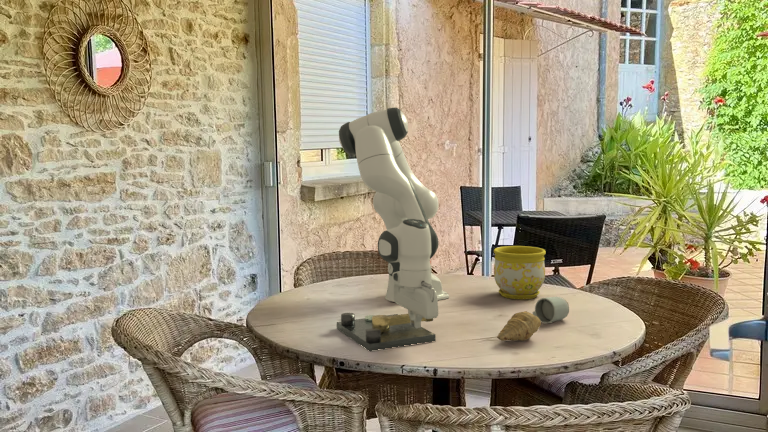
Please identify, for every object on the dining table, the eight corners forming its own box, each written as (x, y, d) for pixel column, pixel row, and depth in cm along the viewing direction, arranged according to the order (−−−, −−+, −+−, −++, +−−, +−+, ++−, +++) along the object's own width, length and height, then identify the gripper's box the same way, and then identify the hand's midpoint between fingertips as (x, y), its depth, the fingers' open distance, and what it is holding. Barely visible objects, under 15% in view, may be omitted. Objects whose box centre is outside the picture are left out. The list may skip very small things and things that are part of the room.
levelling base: (397, 320, 210) (397, 304, 209) (435, 341, 188) (435, 323, 188) (336, 328, 201) (336, 312, 201) (369, 351, 180) (369, 333, 179)
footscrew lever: (376, 333, 189) (376, 320, 188) (369, 328, 193) (369, 316, 193) (436, 324, 197) (436, 312, 196) (428, 320, 201) (428, 308, 201)
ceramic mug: (571, 321, 208) (571, 296, 207) (554, 325, 203) (554, 300, 202) (543, 314, 216) (543, 291, 215) (526, 319, 211) (526, 294, 210)
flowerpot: (555, 296, 239) (556, 250, 237) (519, 304, 229) (519, 256, 227) (518, 287, 254) (519, 244, 252) (482, 294, 243) (483, 249, 242)
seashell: (513, 350, 180) (513, 321, 179) (489, 343, 186) (489, 315, 185) (543, 339, 189) (544, 311, 188) (519, 333, 195) (520, 306, 194)
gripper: (444, 284, 181) (444, 335, 182) (409, 270, 199) (409, 316, 201) (423, 286, 178) (423, 338, 180) (389, 272, 196) (389, 319, 198)
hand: (415, 326), depth 190 cm, fingers closed
